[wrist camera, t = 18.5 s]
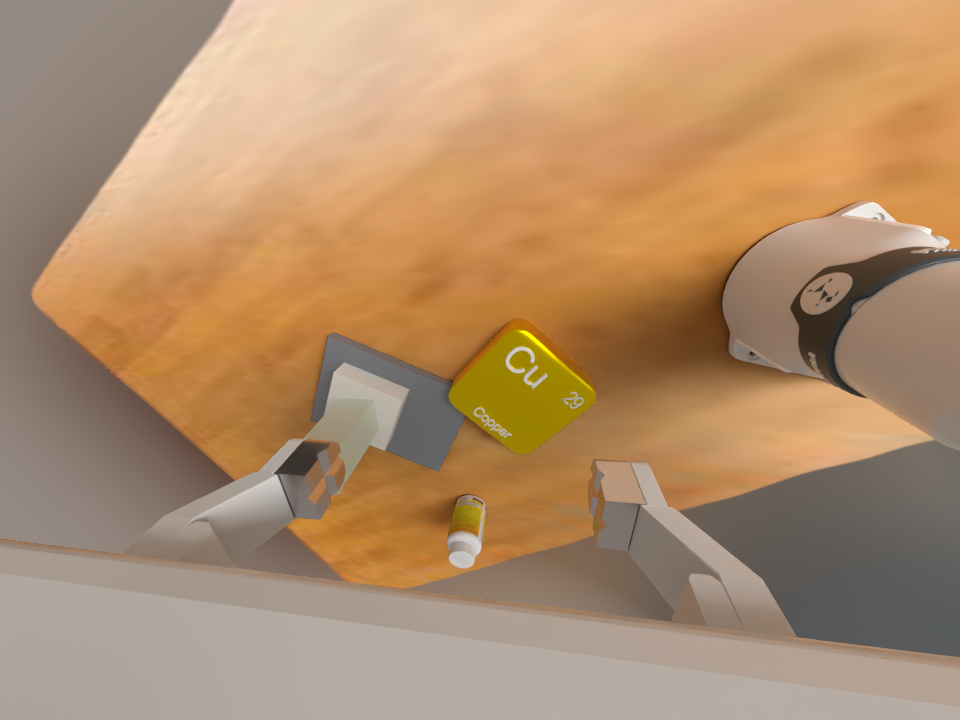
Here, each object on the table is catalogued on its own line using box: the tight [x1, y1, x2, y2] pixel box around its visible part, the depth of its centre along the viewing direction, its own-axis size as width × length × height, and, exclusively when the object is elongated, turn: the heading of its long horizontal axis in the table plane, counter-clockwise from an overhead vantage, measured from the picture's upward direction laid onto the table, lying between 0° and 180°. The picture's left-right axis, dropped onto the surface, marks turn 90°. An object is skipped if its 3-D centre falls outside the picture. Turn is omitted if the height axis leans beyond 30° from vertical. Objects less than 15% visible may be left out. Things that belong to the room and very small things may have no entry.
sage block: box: [303, 398, 380, 495], centre depth 43 cm, size 5×5×12 cm
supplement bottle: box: [447, 495, 486, 568], centre depth 56 cm, size 6×6×10 cm
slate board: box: [311, 332, 465, 472], centre depth 51 cm, size 22×16×4 cm
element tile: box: [448, 319, 596, 455], centre depth 47 cm, size 15×15×5 cm
